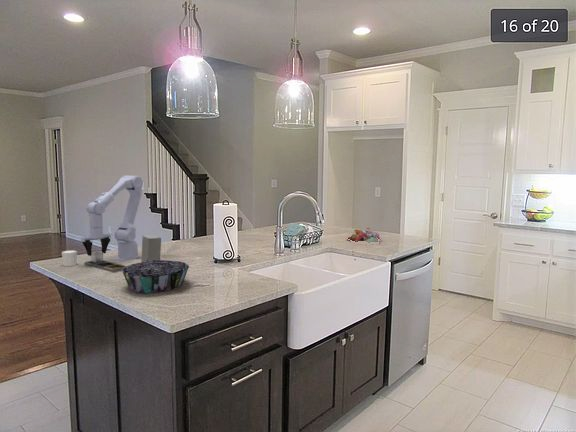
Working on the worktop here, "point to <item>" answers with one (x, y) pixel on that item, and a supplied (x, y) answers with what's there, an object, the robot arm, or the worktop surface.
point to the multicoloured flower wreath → (364, 236)
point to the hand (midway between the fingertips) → (96, 254)
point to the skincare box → (151, 248)
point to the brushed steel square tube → (97, 257)
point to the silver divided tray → (107, 266)
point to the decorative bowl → (155, 275)
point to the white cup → (69, 258)
